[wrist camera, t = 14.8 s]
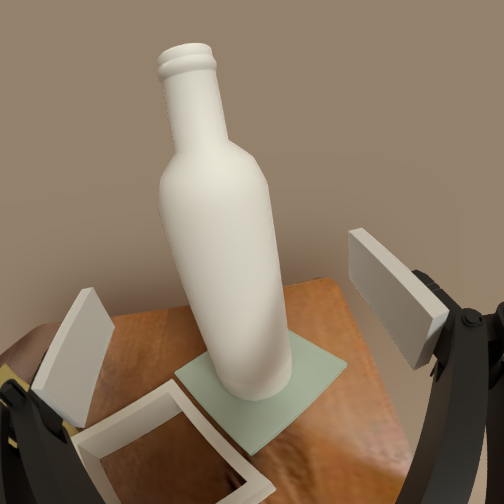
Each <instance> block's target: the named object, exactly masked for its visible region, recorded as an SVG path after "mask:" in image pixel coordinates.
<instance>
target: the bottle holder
mask: <svg viewBox="0 0 504 504" xmlns="http://www.w3.org/2000/svg"><path fill="white" fill-rule="evenodd" d="M182 411H183V412H184V413H185V415H186V416H187V417H188V418H189V420H190V421H191V422H192V423H193V424H194V426H195V427H196V428H197V429H198V430H199V432H200V433H201V434H202V435H203V436H204V437H205V438H206V440H207V441H208V442H209V443H210V444H211V445H212V446H213V447H214V448H215V450H216V451H217V452H218V453H219V454H220V455H221V456H222V457H223V458H224V459H225V460H226V461H227V462H228V463H229V464H230V465H231V466H232V467H233V468H234V469H235V470H236V471H237V472H238V473H239V474H240V475H241V476H242V477H243V478H244V479H245V480H246V481H247V483H245V484H244V485H243V486H241V487H240V488H238V489H237V490H235V491H234V492H233V493H231V494H230V495H228V496H227V497H225V498H223V499H222V500H220V501H219V502H217V503H216V504H258V503H260V502H261V501H262V500H264V499H265V498H266V497H268V496H269V495H270V494H272V493H273V492H274V491H275V490H276V488H275V487H274V486H273V484H272V483H271V482H270V481H269V480H268V479H267V478H266V477H264V476H263V475H262V474H261V473H260V472H259V471H258V470H256V469H255V468H254V467H253V466H252V465H251V464H250V463H249V462H248V461H247V460H246V459H244V458H243V457H242V456H241V455H240V454H239V453H238V452H237V451H236V450H235V449H234V448H233V447H232V446H231V445H230V444H229V443H228V442H227V441H226V440H225V439H224V438H223V437H222V436H221V435H220V434H219V433H218V432H217V430H216V429H215V428H214V427H213V426H212V425H211V424H210V423H209V422H208V421H207V420H206V418H205V417H204V416H203V415H202V414H201V413H200V412H199V411H198V409H197V408H196V407H195V406H194V405H193V404H192V402H191V401H190V400H189V399H188V398H187V396H186V395H185V394H184V393H183V391H182V390H181V389H180V388H179V386H178V385H177V384H176V383H175V381H174V380H173V379H171V380H169V381H168V382H166V383H165V384H163V385H161V386H160V387H158V388H157V389H155V390H153V391H152V392H150V393H148V394H147V395H145V396H144V397H142V398H140V399H139V400H137V401H135V402H134V403H132V404H130V405H129V406H127V407H125V408H123V409H122V410H120V411H118V412H116V413H115V414H113V415H111V416H109V417H108V418H106V419H104V420H102V421H101V422H99V423H97V424H95V425H93V426H91V427H90V428H88V429H86V430H84V431H82V432H80V433H78V434H76V435H74V436H72V437H71V440H72V443H73V445H74V447H75V449H76V451H77V453H78V455H79V457H80V459H81V461H82V463H83V465H84V467H85V469H86V471H87V473H88V475H89V476H90V478H91V480H92V482H93V483H94V485H95V487H96V489H97V490H98V492H99V493H100V495H101V497H102V498H103V500H104V501H105V503H106V504H122V503H121V502H120V500H119V498H118V496H117V494H116V493H115V491H114V489H113V487H112V485H111V483H110V481H109V479H108V477H107V475H106V473H105V471H104V469H103V467H102V464H101V462H100V460H99V459H101V458H103V457H105V456H107V455H109V454H111V453H112V452H114V451H116V450H118V449H120V448H122V447H124V446H125V445H127V444H129V443H131V442H133V441H134V440H136V439H138V438H140V437H141V436H143V435H145V434H146V433H148V432H150V431H151V430H153V429H155V428H156V427H158V426H160V425H161V424H163V423H165V422H166V421H168V420H169V419H171V418H172V417H174V416H176V415H177V414H179V413H180V412H182Z"/></svg>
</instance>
